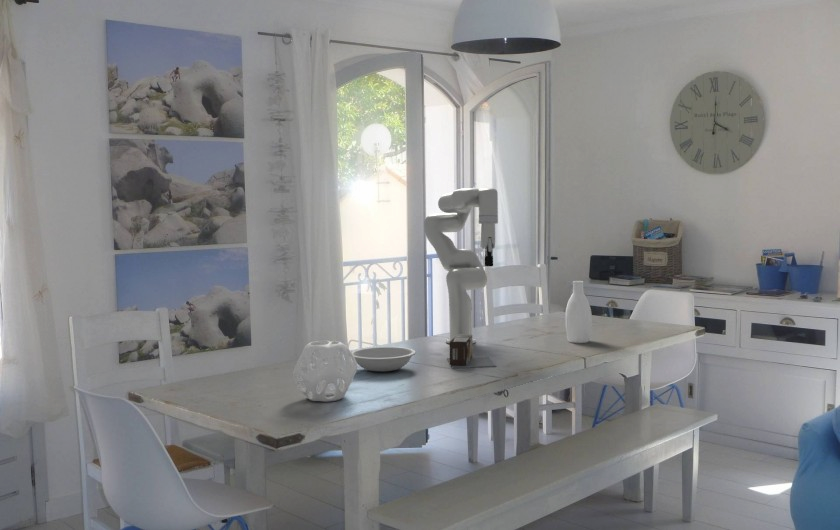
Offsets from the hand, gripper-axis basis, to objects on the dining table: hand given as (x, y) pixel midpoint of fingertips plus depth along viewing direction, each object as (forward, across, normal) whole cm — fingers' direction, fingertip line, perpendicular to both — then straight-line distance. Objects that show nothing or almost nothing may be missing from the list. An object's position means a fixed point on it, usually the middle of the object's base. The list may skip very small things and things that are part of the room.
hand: (488, 266), depth 339 cm
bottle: (+34, -18, +39) cm, 55 cm away
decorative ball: (+34, +76, -59) cm, 102 cm away
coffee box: (+29, +15, -11) cm, 35 cm away
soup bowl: (+34, +34, -42) cm, 64 cm away
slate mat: (+34, +24, -10) cm, 43 cm away
